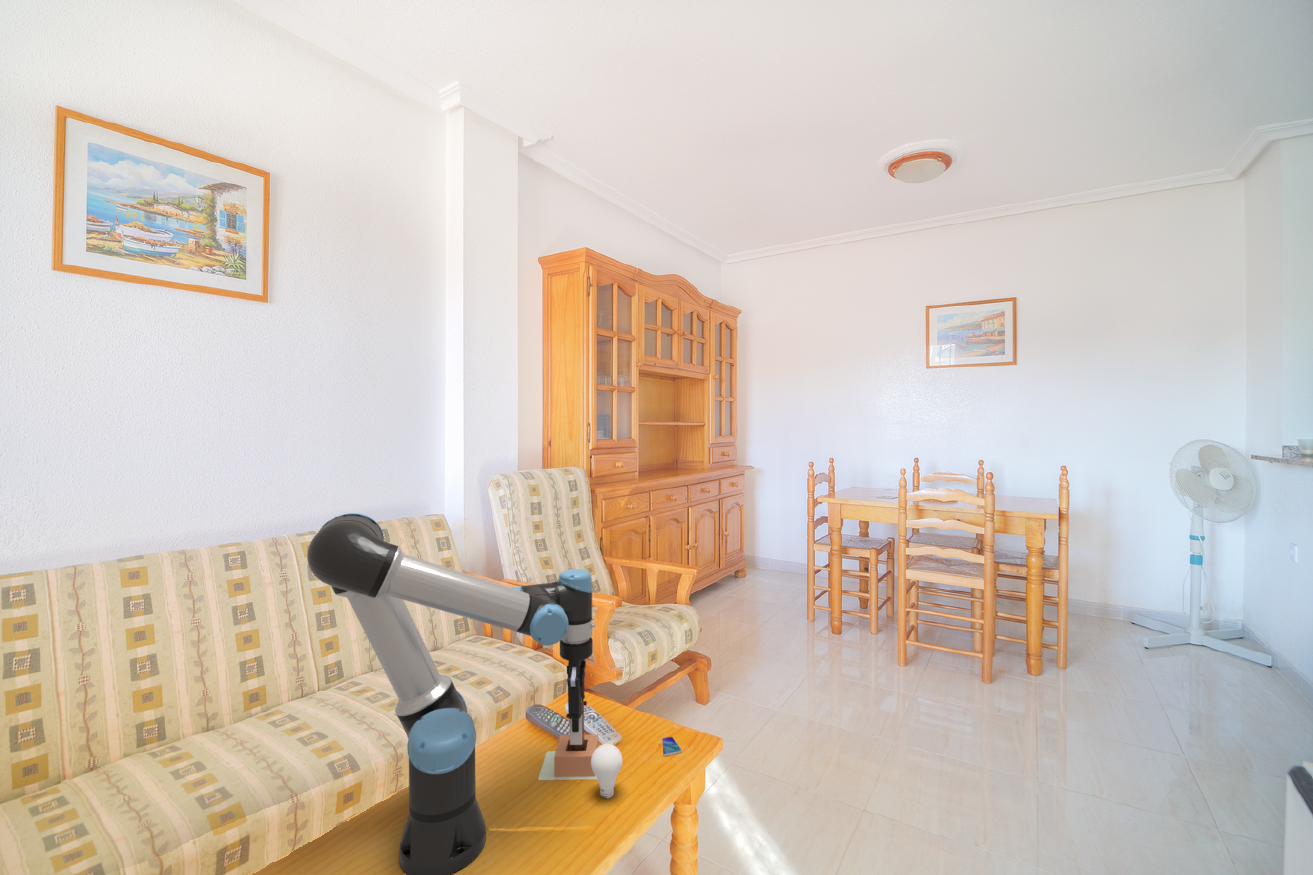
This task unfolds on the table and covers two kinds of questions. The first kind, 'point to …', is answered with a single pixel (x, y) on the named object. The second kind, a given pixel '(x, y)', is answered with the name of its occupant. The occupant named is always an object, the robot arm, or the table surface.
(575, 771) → the terracotta hollow block
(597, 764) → the light bulb
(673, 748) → the smartphone
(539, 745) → the table surface
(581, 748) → the dark brown rod
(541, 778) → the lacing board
